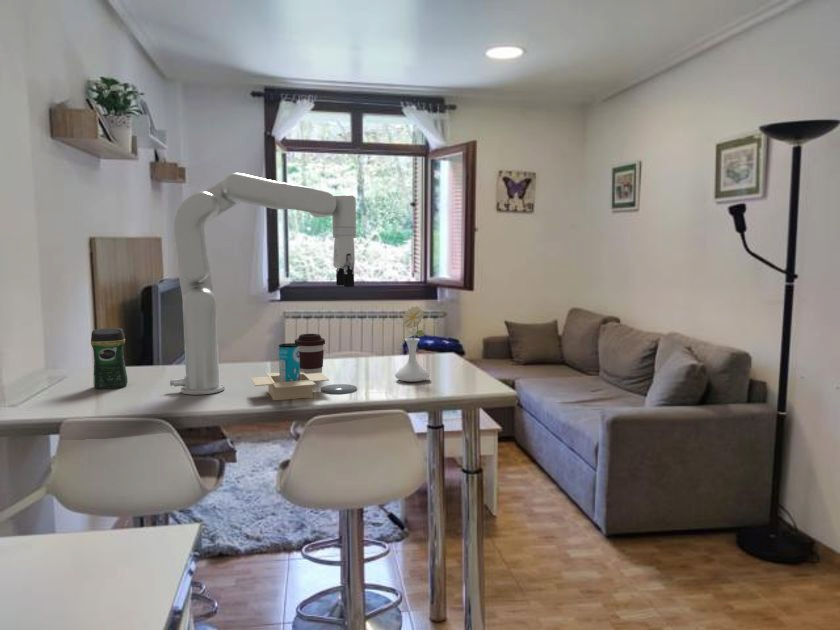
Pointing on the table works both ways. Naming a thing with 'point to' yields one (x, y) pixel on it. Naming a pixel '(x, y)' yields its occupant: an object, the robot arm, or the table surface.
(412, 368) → the flower in vase
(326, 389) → the coaster
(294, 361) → the beverage can
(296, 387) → the carton
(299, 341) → the coffee cup
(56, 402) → the table surface
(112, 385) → the coffee jar
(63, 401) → the table surface
